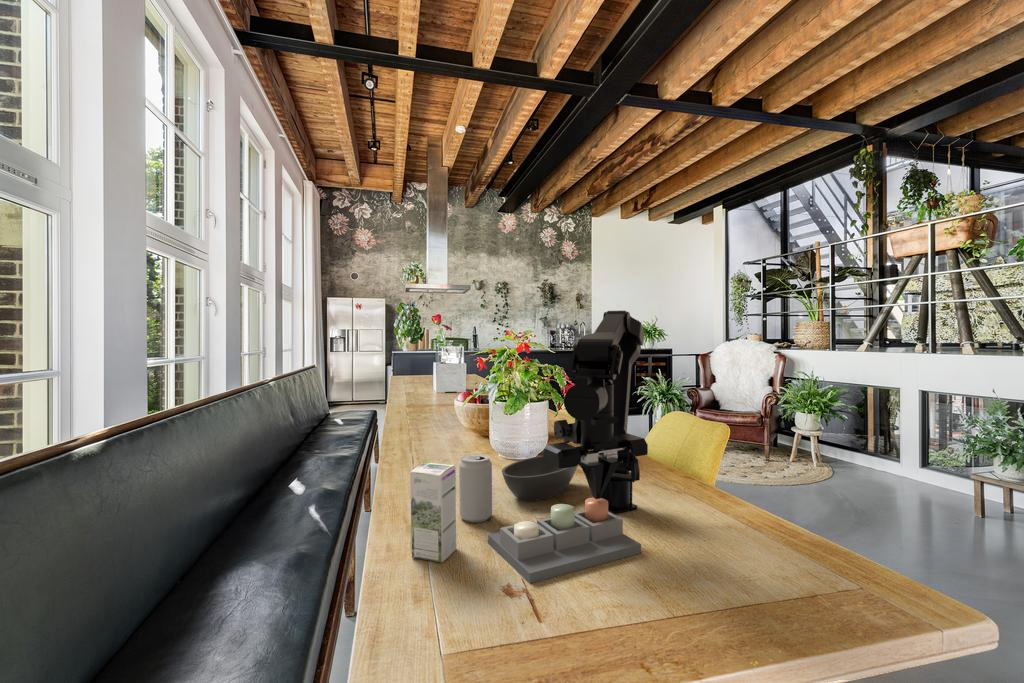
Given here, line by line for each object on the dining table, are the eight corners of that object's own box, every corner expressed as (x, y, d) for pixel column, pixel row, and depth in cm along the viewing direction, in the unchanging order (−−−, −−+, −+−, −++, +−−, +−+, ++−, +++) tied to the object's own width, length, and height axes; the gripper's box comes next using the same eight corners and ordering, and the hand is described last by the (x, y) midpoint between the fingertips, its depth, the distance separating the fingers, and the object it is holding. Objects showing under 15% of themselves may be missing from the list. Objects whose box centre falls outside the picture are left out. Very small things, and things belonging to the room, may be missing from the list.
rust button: (598, 513, 89) (598, 496, 89) (612, 521, 86) (612, 503, 86) (580, 517, 88) (580, 499, 87) (593, 525, 84) (594, 507, 84)
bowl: (592, 486, 115) (592, 460, 115) (528, 512, 100) (528, 482, 99) (552, 475, 124) (552, 451, 124) (487, 497, 108) (487, 469, 108)
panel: (587, 521, 95) (587, 499, 95) (641, 553, 82) (641, 527, 82) (488, 543, 86) (487, 519, 85) (529, 583, 72) (529, 555, 72)
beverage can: (487, 525, 93) (487, 462, 93) (455, 522, 94) (454, 460, 94) (495, 512, 99) (495, 453, 99) (464, 510, 101) (464, 452, 100)
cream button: (531, 538, 83) (531, 519, 83) (543, 548, 80) (543, 528, 79) (509, 543, 81) (509, 524, 81) (521, 553, 78) (521, 533, 78)
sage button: (566, 520, 86) (566, 502, 86) (579, 529, 83) (579, 510, 82) (546, 524, 84) (546, 506, 84) (559, 533, 81) (559, 514, 81)
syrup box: (457, 548, 84) (457, 463, 83) (441, 564, 78) (440, 473, 78) (427, 543, 85) (427, 460, 85) (409, 559, 80) (409, 470, 79)
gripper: (610, 399, 97) (610, 477, 98) (527, 407, 89) (527, 492, 90) (650, 408, 87) (649, 495, 88) (560, 417, 79) (560, 513, 80)
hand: (596, 498), depth 87 cm, fingers closed
